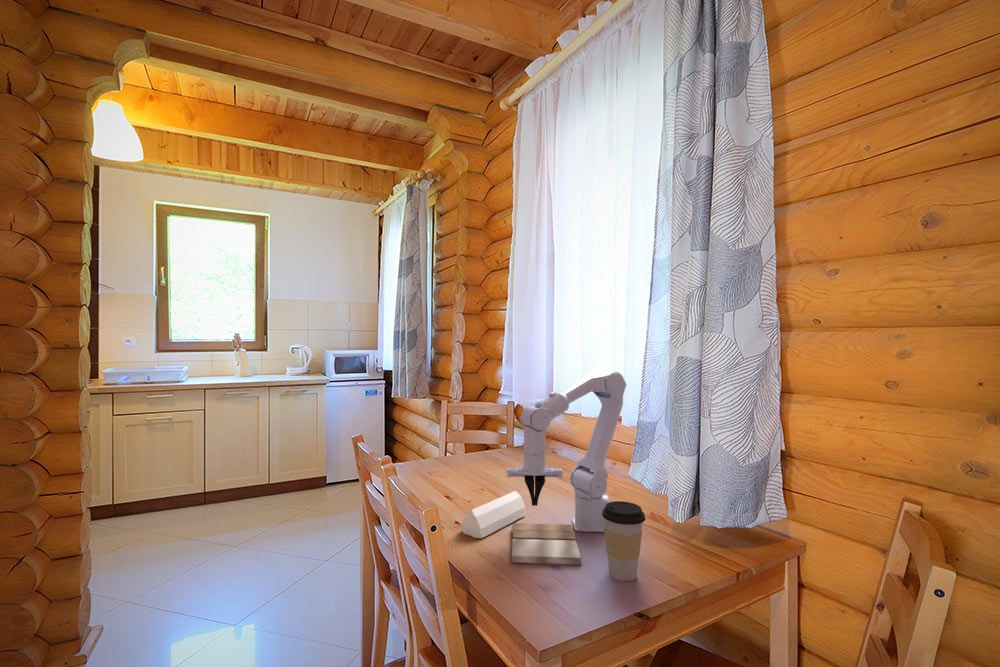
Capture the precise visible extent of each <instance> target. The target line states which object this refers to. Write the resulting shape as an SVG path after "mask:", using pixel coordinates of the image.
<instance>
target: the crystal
mask: <svg viewBox="0 0 1000 667" xmlns="http://www.w3.org/2000/svg"><path fill="white" fill-rule="evenodd" d="M526 508H527V507H526V503H525V502H524V499H523V496H521V495H520V494H519V492H517V491H516V490H514V491H512V492H510V493H507V494H504V495H503V496H501V497H498V498H496V499H494V500H491V501H488V502H487V503H484V504H482V505H479V506H477V507H475V508H473V509H471V510H469V511H468V512H466V514H465V516H464V518H463V520H462V522H461V525H460V529H461V532H462V534H464V535H465V534H466V536H468V535H469V536H468V537H471V536H472V537H471V538H473V537H474V539H476V538H479V539H483V538H485V537H487V536H489V535H490V534H493V533H494V532H496V531H498V530H500V529H503V528H504V527H506V526H508V525H510V524H511V523H512V524H513V523H515V522H516V521H518V520H519V519H521V518H523V517H525V516H526Z"/></svg>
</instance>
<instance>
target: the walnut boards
mask: <svg viewBox="0 0 1000 667" xmlns="http://www.w3.org/2000/svg"><path fill="white" fill-rule="evenodd" d="M512 526H513V537H512V536H511V540H512V539H537V540H574V541H576V535H575V532H574V527H573V525H572V524H561V523H559V524H558V523H556V524H555V523H554V524H553V523H551V524H550V523H525V522H524V523H522V522H521V523H520V522H512Z"/></svg>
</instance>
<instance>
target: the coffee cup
mask: <svg viewBox="0 0 1000 667" xmlns="http://www.w3.org/2000/svg"><path fill="white" fill-rule="evenodd" d="M602 516H603V517H604V523H605V525H604V531H605V532H604V539H605V550H606V554H607V562H608V564H607V565H608V573H609V575H610V577H612V578H613V579H615V580H617V581H621V582H630V581H634V580H635V579H636V578H637V573H638V566H639V557H640V555H641V554H640V552H641V545H642V538H643V536H642V535H643V530H642V529H643V528H642V527H643V523H644V522H646V514H645V513H644V511H643V508H642V507H641V506H640V505H638V504H637V503H633V502H629V501H621V500H615V501H609V503H607V504H606V506H605V508H604V509H603V511H602Z"/></svg>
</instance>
